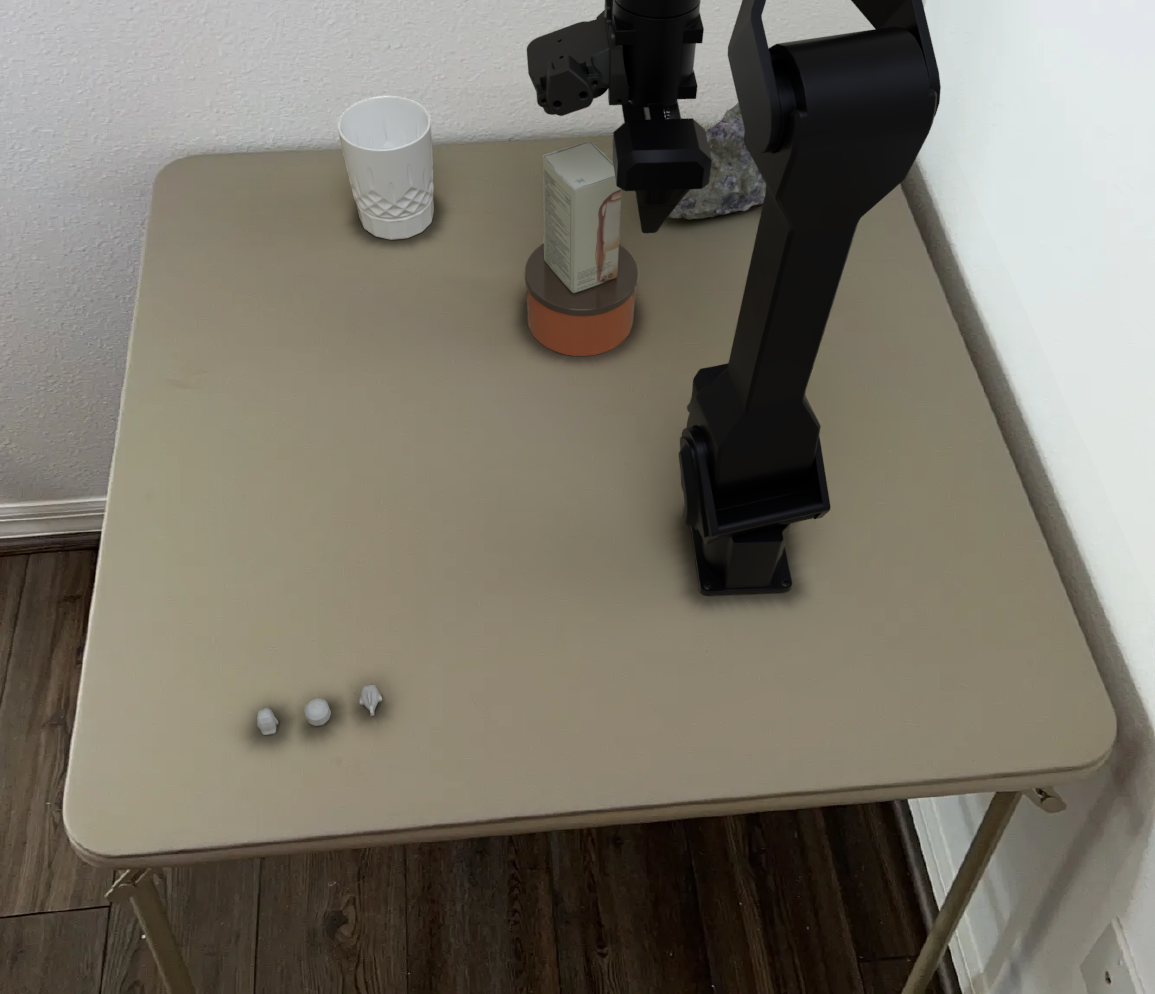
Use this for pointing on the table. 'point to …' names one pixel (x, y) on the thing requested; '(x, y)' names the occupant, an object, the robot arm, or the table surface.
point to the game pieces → (318, 710)
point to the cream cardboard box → (581, 216)
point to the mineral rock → (725, 174)
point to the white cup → (389, 164)
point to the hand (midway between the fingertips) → (642, 192)
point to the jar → (580, 308)
